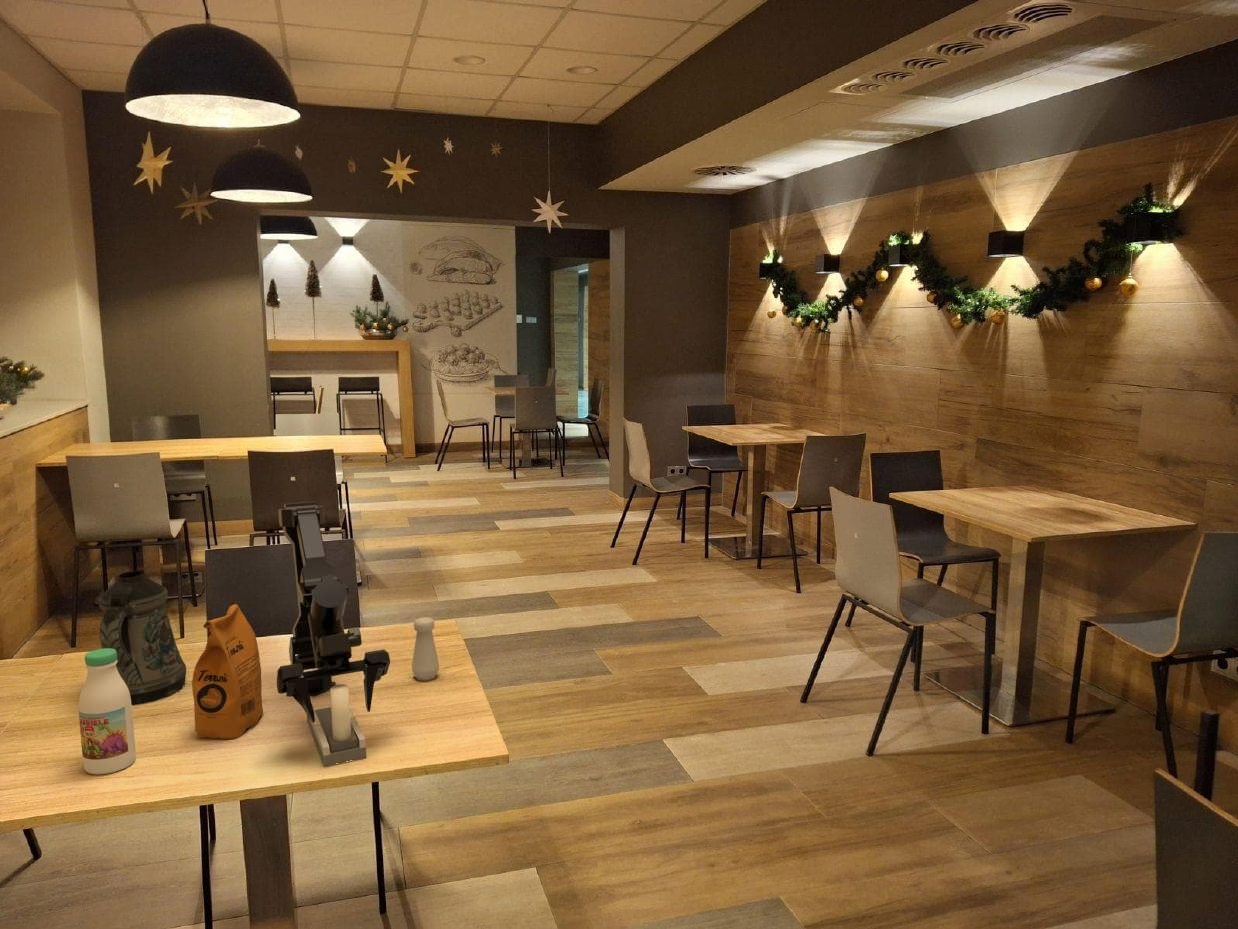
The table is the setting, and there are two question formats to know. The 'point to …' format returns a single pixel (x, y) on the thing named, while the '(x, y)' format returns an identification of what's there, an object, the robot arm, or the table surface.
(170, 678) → the beer stein
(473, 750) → the table surface
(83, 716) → the milk bottle
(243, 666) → the coffee package
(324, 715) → the fader console
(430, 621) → the salt shaker
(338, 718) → the fader slider
